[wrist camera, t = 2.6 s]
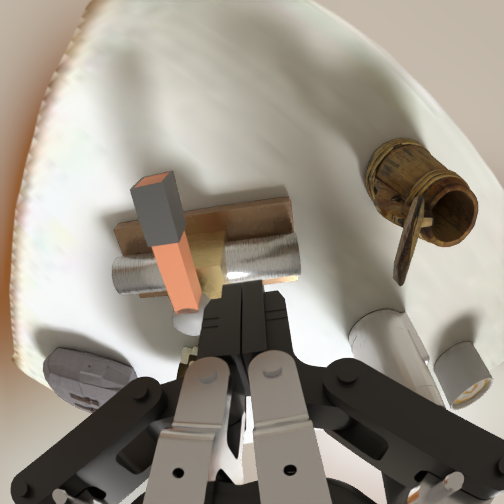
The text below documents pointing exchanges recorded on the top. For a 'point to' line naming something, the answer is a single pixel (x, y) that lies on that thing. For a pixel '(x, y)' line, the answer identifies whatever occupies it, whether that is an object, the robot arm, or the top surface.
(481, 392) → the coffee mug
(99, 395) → the small grey backpack
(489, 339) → the top surface
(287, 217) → the stand
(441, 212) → the wooden mug
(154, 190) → the valve lever
